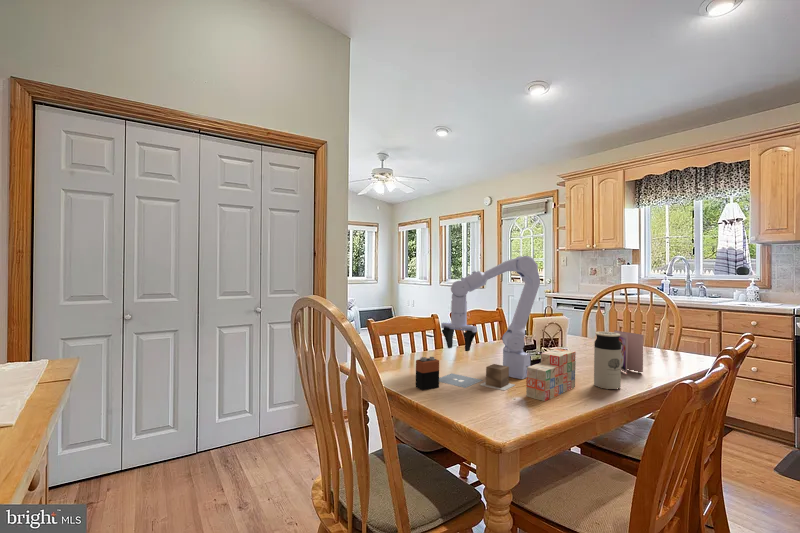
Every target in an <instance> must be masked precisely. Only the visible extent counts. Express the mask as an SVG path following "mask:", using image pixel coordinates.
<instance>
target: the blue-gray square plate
mask: <svg viewBox="0 0 800 533" xmlns="http://www.w3.org/2000/svg"><path fill="white" fill-rule="evenodd" d="M482 381H484V379H479V378H474V377H471V376H466V375H462V374H456V373H452V372H451V373H449V374H447V375H444V376H441V377H440V376H439V383H442V384H443V383H444V384H447V385H451V386H455V387H459V388H463V389H466V388H468V387H471V386H473V385H475V384H477V383H480V382H482Z"/></svg>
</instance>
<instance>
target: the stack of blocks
mask: <svg viewBox="0 0 800 533" xmlns="http://www.w3.org/2000/svg"><path fill="white" fill-rule="evenodd" d="M576 353H577V352H576V351H574V350H568V349H561V348H556V349H550V350H547V351H544V352H541V353H540V362H539V363H536V364H533V365H530V366H529V367H527V377H526V384H525V385H526V391H525V392H526V396H525V397H527V398H530V399H535V400H538V401H542V402H546V401H548V400H551V399H553V398H555V397H557V395H558V396H559V394H560V395H562V394H564V393H565V391H566V392H568V391H570V390H569V389H571V388H573V389H575V388H576ZM574 387H575V388H574ZM567 390H568V391H567ZM571 390H572V389H571ZM563 392H564V393H563ZM561 393H562V394H561Z"/></svg>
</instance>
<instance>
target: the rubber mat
mask: <svg viewBox="0 0 800 533" xmlns="http://www.w3.org/2000/svg"><path fill="white" fill-rule="evenodd" d="M479 386H481V387H486V388H491V389H495V390H498V391H499V390H500V391H503V392H504V391H507V390H509V389H511V388H513V387H515V386H516V384H514V383H510V382H509V385H506V386H504V387H502V388H498V387H494V386H489V385H486V381H484V382H482V383H480V384H479Z"/></svg>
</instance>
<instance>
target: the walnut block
mask: <svg viewBox="0 0 800 533" xmlns="http://www.w3.org/2000/svg"><path fill="white" fill-rule="evenodd" d="M509 379H510V377H509V367H508V366H503V364H502V365H501V364H497V363H493V364H490V365H487V366H486V367H485V382H486V385H489V386H494V387H498V388H502V387H504V386H506V385H509V383H510V382H509Z"/></svg>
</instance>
